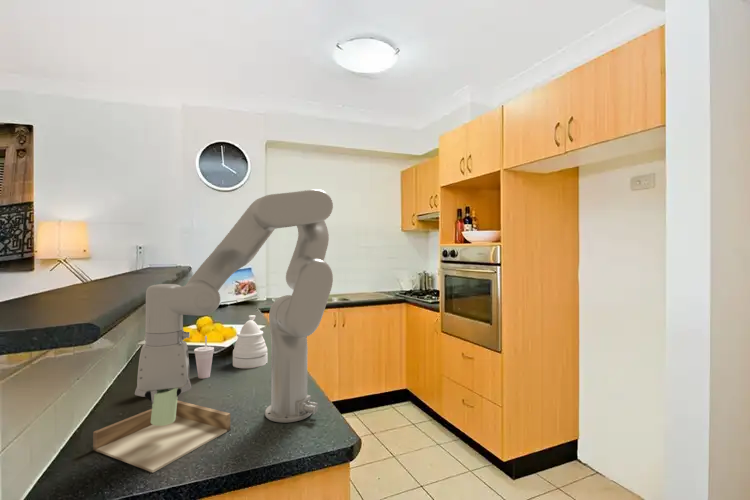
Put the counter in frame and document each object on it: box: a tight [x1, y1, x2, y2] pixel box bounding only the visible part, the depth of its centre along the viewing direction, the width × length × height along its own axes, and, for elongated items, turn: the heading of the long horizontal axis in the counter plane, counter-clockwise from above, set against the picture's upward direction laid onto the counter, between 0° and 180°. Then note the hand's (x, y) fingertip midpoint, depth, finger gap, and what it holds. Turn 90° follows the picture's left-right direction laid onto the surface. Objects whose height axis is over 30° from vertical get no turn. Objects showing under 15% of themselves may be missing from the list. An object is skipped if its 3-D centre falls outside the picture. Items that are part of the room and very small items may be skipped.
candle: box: [151, 388, 179, 426], centre depth 88 cm, size 5×5×8 cm
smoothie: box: [193, 335, 215, 379], centre depth 133 cm, size 6×6×14 cm
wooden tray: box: [92, 399, 231, 474], centre depth 89 cm, size 20×20×4 cm
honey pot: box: [232, 314, 269, 369], centre depth 149 cm, size 13×13×18 cm
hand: (163, 418), depth 88 cm, fingers closed on candle, 1 cm apart
